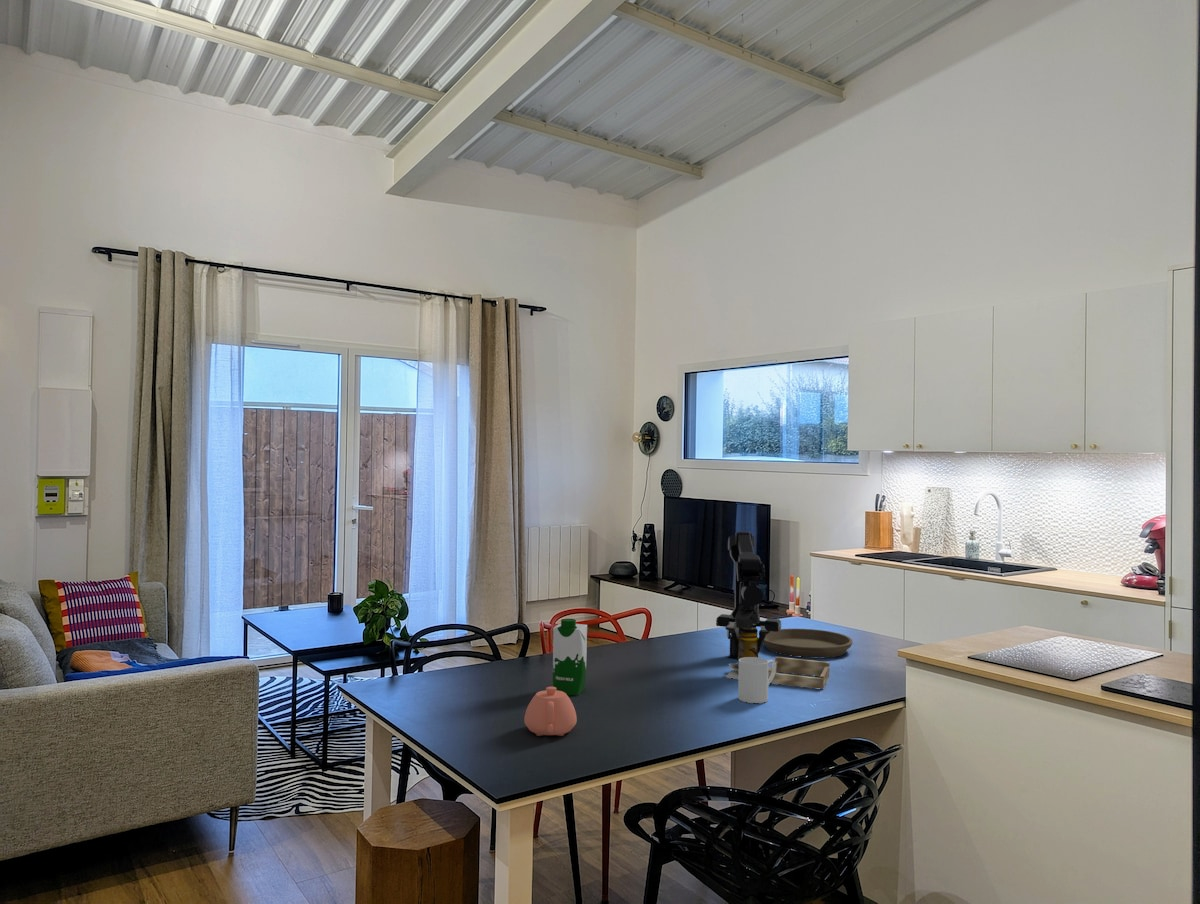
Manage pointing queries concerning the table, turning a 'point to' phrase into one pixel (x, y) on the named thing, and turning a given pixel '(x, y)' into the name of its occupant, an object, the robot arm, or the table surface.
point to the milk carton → (569, 656)
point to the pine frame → (800, 672)
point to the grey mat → (733, 674)
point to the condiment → (747, 645)
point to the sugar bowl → (550, 713)
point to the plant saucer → (807, 642)
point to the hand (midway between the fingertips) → (748, 651)
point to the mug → (754, 679)
